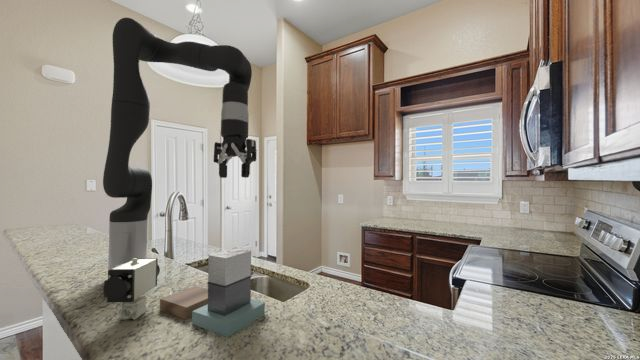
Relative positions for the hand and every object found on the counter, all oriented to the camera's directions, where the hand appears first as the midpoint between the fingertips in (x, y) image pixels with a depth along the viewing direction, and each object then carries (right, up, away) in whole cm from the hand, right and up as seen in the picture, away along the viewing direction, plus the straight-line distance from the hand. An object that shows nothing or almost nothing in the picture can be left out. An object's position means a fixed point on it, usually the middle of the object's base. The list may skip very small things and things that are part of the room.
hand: (233, 177), depth 77 cm
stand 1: (-5, -29, -16) cm, 34 cm away
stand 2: (+6, -29, -21) cm, 37 cm away
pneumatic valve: (-15, -30, -20) cm, 39 cm away
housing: (+6, -27, -21) cm, 35 cm away
